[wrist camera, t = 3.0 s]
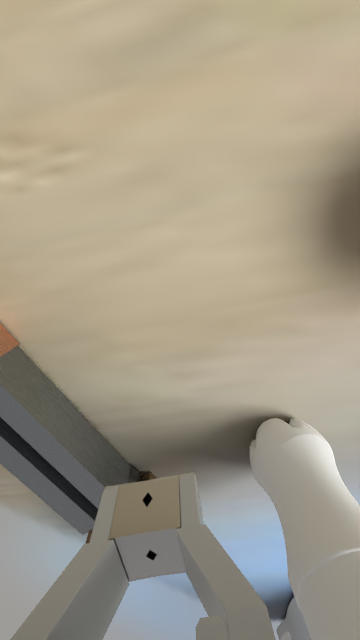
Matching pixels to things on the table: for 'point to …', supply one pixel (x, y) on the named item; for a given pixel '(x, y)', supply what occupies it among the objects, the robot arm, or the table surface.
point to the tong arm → (56, 426)
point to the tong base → (47, 480)
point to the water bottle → (313, 525)
